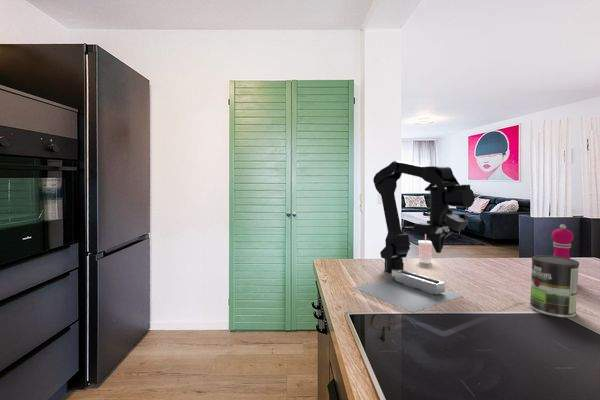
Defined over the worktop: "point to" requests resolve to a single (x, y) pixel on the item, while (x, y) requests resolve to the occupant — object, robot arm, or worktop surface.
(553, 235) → the pepper mill
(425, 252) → the beverage cup
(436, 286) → the bar
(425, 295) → the label board
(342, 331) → the worktop surface
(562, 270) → the coffee can
